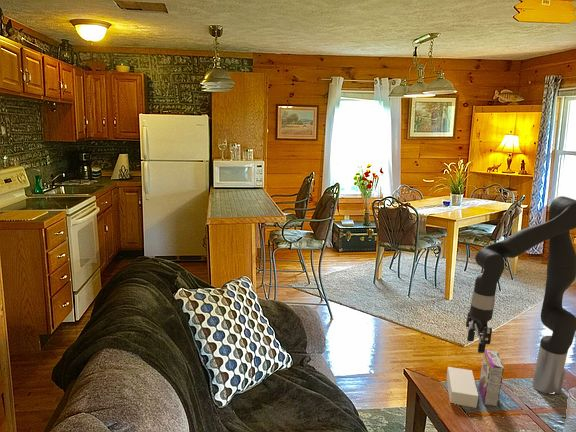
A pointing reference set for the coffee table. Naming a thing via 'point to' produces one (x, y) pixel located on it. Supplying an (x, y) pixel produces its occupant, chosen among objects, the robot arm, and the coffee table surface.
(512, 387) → the coffee table surface
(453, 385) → the plain white box
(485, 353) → the candy bar box
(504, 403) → the coffee table surface
